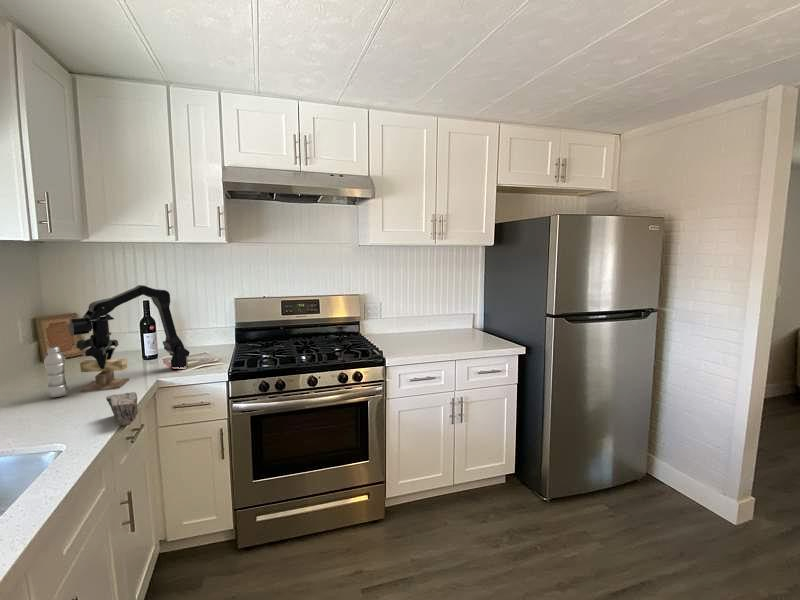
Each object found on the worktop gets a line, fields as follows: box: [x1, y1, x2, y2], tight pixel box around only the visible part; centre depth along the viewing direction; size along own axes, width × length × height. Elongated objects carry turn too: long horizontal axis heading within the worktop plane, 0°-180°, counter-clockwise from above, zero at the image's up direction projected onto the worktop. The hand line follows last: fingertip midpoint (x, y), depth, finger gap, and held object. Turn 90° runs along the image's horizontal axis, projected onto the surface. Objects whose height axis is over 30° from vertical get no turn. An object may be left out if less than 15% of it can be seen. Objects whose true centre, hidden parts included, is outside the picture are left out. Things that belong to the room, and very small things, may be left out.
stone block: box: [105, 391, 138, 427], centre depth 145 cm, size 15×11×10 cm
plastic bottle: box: [43, 345, 69, 398], centre depth 166 cm, size 6×7×20 cm
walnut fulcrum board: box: [79, 371, 130, 392], centre depth 180 cm, size 14×12×6 cm
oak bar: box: [79, 358, 128, 373], centre depth 179 cm, size 16×4×4 cm, turn 99°
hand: (104, 367), depth 179 cm, fingers closed on oak bar, 4 cm apart
